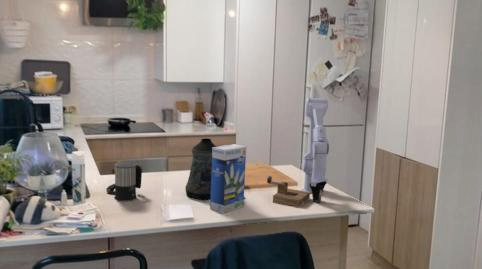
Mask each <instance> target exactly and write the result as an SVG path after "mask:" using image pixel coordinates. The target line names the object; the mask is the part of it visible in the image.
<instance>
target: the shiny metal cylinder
mask: <svg viewBox="0 0 482 269" xmlns="http://www.w3.org/2000/svg"><path fill="white" fill-rule="evenodd" d="M321 194H322V195H323V192H322V189H321V190H320V194H319V198H318V200H314V199H313V198H312V202H313V203H316V204H318V203H322V196H321Z"/></svg>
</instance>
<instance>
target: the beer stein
mask: <svg viewBox="0 0 482 269" xmlns="http://www.w3.org/2000/svg"><path fill="white" fill-rule="evenodd" d="M213 147H217V146H216V145H215V144H214V142H212V139H210V138H201V140H200V141H199V142H198V143H197V144H196V145H195V146H193V147H192V148H191V153H192V158H191V160H192V161H191V163H190V164H191V165H190V170H189V175H188V179H187V182H186V185H185V193H186V194H185V195H186V197H187V198H189V199H192V200H196V201H210V199H211V173H212V148H213Z"/></svg>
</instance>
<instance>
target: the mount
mask: <svg viewBox="0 0 482 269" xmlns="http://www.w3.org/2000/svg"><path fill="white" fill-rule="evenodd" d="M280 182H282V183H284V184H281V183H278V185H277V192H276V193H275V194H273V195H272V203H276V204H280V203H281V204H280V205H285V204H287V206H290V205H292V206H291V207H296V206H297V207H296V208H300V207H301V206H302V205H304V204H305V203H306V202H307V201H308V200H310V198H311V196H310V195H311V193H310V192H305V191H301V190H300V189H299V190H298V189H293V188H288V187H289V186H288V185H289V182H288V181H283V180H282V181H281V180H280ZM303 203H304V204H303ZM299 206H300V207H299Z"/></svg>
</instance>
